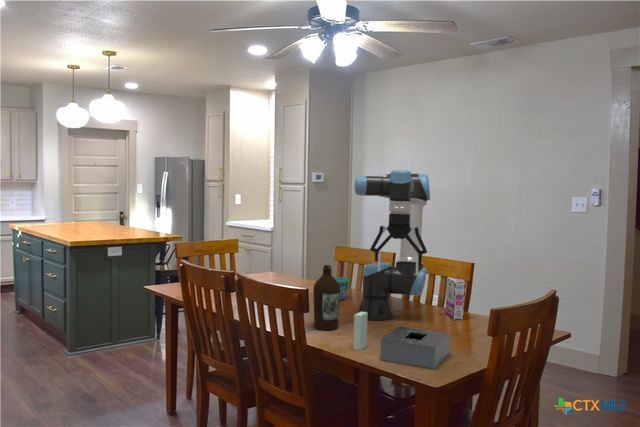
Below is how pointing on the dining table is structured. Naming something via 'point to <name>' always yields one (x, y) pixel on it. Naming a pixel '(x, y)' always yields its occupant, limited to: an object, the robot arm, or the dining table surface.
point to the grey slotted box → (415, 347)
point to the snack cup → (342, 286)
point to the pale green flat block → (360, 330)
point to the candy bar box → (455, 298)
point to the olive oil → (326, 301)
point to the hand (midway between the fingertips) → (397, 271)
